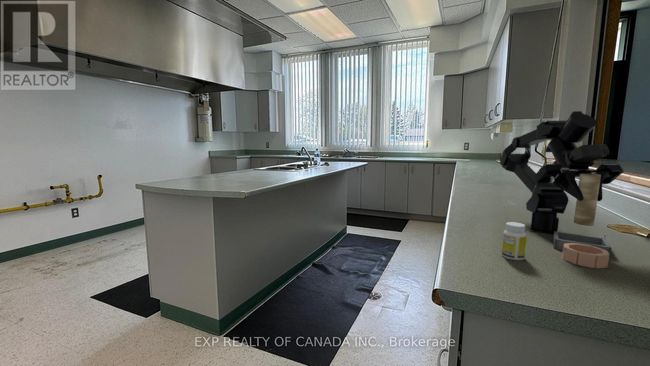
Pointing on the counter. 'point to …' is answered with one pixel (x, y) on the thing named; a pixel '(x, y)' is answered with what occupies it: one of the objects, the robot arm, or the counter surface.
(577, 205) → the dowel
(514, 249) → the supplement bottle
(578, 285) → the counter surface
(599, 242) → the tray
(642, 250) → the counter surface
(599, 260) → the pink faceted bowl
